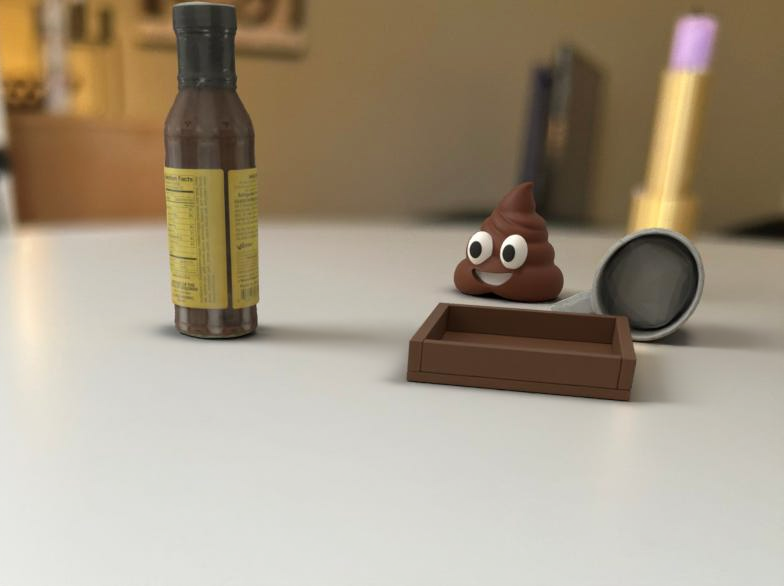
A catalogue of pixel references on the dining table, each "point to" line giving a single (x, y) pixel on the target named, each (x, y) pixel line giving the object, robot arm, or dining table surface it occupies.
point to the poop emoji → (511, 253)
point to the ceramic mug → (645, 283)
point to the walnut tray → (524, 351)
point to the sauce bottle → (210, 180)
